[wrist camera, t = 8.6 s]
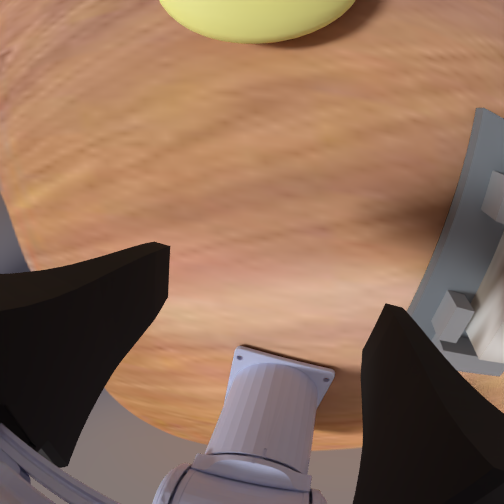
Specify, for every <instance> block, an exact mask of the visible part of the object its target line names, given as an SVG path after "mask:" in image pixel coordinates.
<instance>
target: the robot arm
mask: <svg viewBox="0 0 504 504" xmlns="http://www.w3.org/2000/svg"><path fill="white" fill-rule="evenodd" d="M169 259H170V246H167V245H164V244H160V243H157V242H150V243H145V244H141V245H138V246H134V247H131V248H128V249H124V250H121V251H118V252H114V253H111V254H108V255H105V256H101V257H98V258H94V259H90V260H87V261H83V262H79V263H76V264H72V265H67V266H63V267H58V268H52V269H47V270H41V271H32V272H23V273H15V274H14V273H13V274H0V504H55V503H54V502H53V501H51V500H50V499H49V498H47V497H46V496H45V495H43V494H42V493H41V492H39V491H38V490H37V489H35V488H34V487H33V486H32V485H31V484H30V477H29V475H30V476H31V477H32V478H33V479H35V480H36V481H37V482H39V483H40V484H42V485H43V486H44V487H45V488H47V489H49V490H50V491H51V492H52V493H54V494H55V495H57V496H58V497H60V498H62V499H63V500H64V501H66V502H67V503H69V504H120V503H118V502H116V501H114V500H112V499H110V498H108V497H106V496H105V495H103V494H101V493H99V492H97V491H95V490H94V489H92V488H90V487H88V486H87V485H85V484H84V483H82V482H80V481H79V480H77V479H75V478H74V477H72V476H71V475H69V474H67V473H66V472H64V471H63V470H61V469H60V468H61V467H66V466H68V464H69V461H70V458H71V456H72V453H73V451H74V448H75V446H76V443H77V441H78V438H79V436H80V433H81V431H82V429H83V427H84V425H85V423H86V420H87V419H88V416H89V414H90V412H91V410H92V409H93V407H94V405H95V403H96V401H97V399H98V397H99V396H100V394H101V392H102V390H103V388H104V387H105V385H106V383H107V382H108V380H109V378H110V377H111V375H112V373H113V372H114V370H115V369H116V368H117V366H118V365H119V363H120V362H121V361H122V359H123V358H124V357H125V356H126V354H127V353H128V352H129V351H130V349H131V348H132V347H133V346H134V344H135V343H136V342H137V341H138V340H139V338H140V337H141V336H142V335H143V333H144V332H145V331H146V330H147V328H148V327H149V326H150V325H151V323H152V322H153V321H154V319H155V318H156V316H157V315H158V313H159V311H160V310H161V308H162V306H163V305H164V303H165V301H166V299H167V298H168V282H169ZM240 356H242V357H240ZM334 377H335V371H334V370H333V369H329V368H325V367H321V366H316V365H312V364H308V363H304V362H300V361H296V360H292V359H288V358H284V357H280V356H276V355H272V354H269V353H265V352H261V351H258V350H254V349H251V348H247V347H244V346H238V347H236V349H235V352H234V357H233V362H232V367H231V372H230V377H229V382H228V387H227V392H226V397H225V402H224V406H223V409H222V411H221V414H220V417H219V419H218V422H217V424H216V427H215V429H214V432H213V434H212V437H211V439H210V442H209V444H208V447H207V449H206V451H205V454H200V453H198V454H197V455H196V457H195V459H194V461H193V464H188V463H182V464H180V465H179V466H177V467H175V468H173V469H172V470H170V471H169V472H168V473H167V475H166V476H165V477H164V479H163V480H162V482H161V484H160V486H159V488H158V490H157V492H156V495H155V497H154V500H153V503H152V504H327V501H326V499H325V498H324V496H323V495H322V494H321V491H320V490H318V489H310V486H311V480H312V476H311V475H307V473H308V467H309V461H310V454H311V447H312V440H313V432H314V424H315V416H316V409H317V407H318V406H319V404H320V402H321V401H322V399H323V397H324V395H325V393H326V392H327V390H328V388H329V386H330V384H331V383H332V381H333V379H334ZM325 378H328V379H325ZM361 392H362V414H363V446H362V454H361V462H360V470H359V475H358V481H357V486H356V491H355V496H354V500H353V504H504V413H502V412H501V411H500V410H498V409H497V408H496V407H495V406H494V405H492V404H491V403H490V402H489V401H488V400H486V399H485V398H484V397H483V396H482V395H481V394H480V393H479V392H478V391H477V390H476V389H474V388H473V387H472V386H471V385H470V384H469V383H468V382H467V381H466V380H465V379H464V378H463V377H462V376H461V375H460V373H459V372H458V371H457V370H456V369H455V368H454V367H453V366H452V365H451V363H450V362H449V361H448V360H447V359H446V358H445V357H444V356H443V354H442V353H441V352H440V351H439V350H438V348H437V347H436V346H435V345H434V344H433V342H432V341H431V340H430V339H429V337H428V336H427V335H426V334H425V333H424V331H423V330H422V329H421V328H420V327H419V325H418V324H417V323H416V322H415V321H414V319H413V318H412V317H411V316H410V315H409V314H408V313H407V312H406V311H405V310H404V309H403V308H402V307H398V306H394V305H390V304H385V306H384V308H383V310H382V312H381V314H380V317H379V319H378V321H377V323H376V325H375V327H374V329H373V331H372V333H371V335H370V337H369V339H368V341H367V343H366V345H365V347H364V348H363V351H362V364H361Z"/></svg>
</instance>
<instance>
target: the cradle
mask: <svg viewBox="0 0 504 504" xmlns="http://www.w3.org/2000/svg"><path fill="white" fill-rule="evenodd" d="M503 232H504V119H503V118H501V117H500V116H498V115H496V114H494V113H492V112H491V111H489V110H487V109H485V108H476V112H475V118H474V123H473V127H472V132H471V136H470V141H469V145H468V149H467V153H466V157H465V161H464V165H463V168H462V172H461V175H460V179H459V182H458V186H457V189H456V192H455V195H454V198H453V201H452V204H451V207H450V210H449V213H448V216H447V219H446V222H445V225H444V227H443V230H442V233H441V235H440V238H439V241H438V243H437V246H436V248H435V251H434V253H433V256H432V258H431V260H430V263H429V265H428V267H427V270H426V272H425V274H424V277H423V279H422V281H421V283H420V285H419V288H418V290H417V292H416V294H415V296H414V298H413V300H412V302H411V304H410V306H409V308H408V310H407V313H408V314H409V315H410V316H411V317H412V318H413V319H414V321H415V322H416V323H417V324H418V325H419V327H420V328H421V329H422V330H423V331H424V333H425V334H426V335H427V336H428V337H429V339H430V340H431V341H432V342H433V344H434V345H435V346H436V347H437V348H438V350H439V351H440V352H441V353H442V354H443V356H444V357H445V358H446V359H447V360H448V361H449V362H450V363H451V365H452V366H453V367H454V368H455V369H456V370H457V371H462V372H469V373H476V374H484V375H492V376H500V375H501V374H502V373H503V371H504V363H498V362H491V361H485V360H479V359H478V356H477V354H476V352H475V350H474V347H473V345H472V343H471V341H470V339H469V337H468V335H467V333H466V330H465V328H466V326H467V324H468V323H469V321H470V319H471V318H472V316H473V314H474V312H475V311H474V309H473V308H472V306H471V302H472V300H473V298H474V296H475V294H476V292H477V290H478V288H479V286H480V284H481V282H482V280H483V278H484V276H485V274H486V272H487V270H488V267H489V265H490V263H491V261H492V259H493V256H494V254H495V252H496V249H497V247H498V244H499V242H500V239H501V237H502V234H503Z"/></svg>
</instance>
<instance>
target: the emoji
mask: <svg viewBox="0 0 504 504" xmlns="http://www.w3.org/2000/svg"><path fill="white" fill-rule="evenodd" d="M355 1H356V0H160V2H161V4H162V6H163V7H164V8H165V10H166V11H167V12H168V14H169V15H170V16H171V17H173V18H174V19H175V20H176V21H177V22H178V23H180V24H181V25H183V26H184V27H186V28H188V29H189V30H191V31H193V32H196V33H198V34H201V35H203V36H205V37H208V38H212V39H216V40H220V41H225V42H233V43H240V44H261V43H272V42H280V41H284V40H289V39H294V38H297V37H300V36H303V35H306V34H310V33H312V32H314V31H316V30H319V29H321V28H323V27H325V26H327V25H329V24H330V23H332V22H333V21H334V20H336V19H338V18H339V17H341V16H342V15H343V14H344V13H345V12H346V11H347V10H348V9H349V8H350V7H351V6H352V5H353V3H354V2H355Z"/></svg>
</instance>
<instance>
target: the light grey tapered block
mask: <svg viewBox="0 0 504 504" xmlns="http://www.w3.org/2000/svg"><path fill="white" fill-rule="evenodd" d="M471 306H472V308H473V309H474V311H475V312H474V314H473V316H472V318H471V319H470V321H469V323H468V324H467V326H466V328H465V330H466V333H467V335H468V337H469V339H470V341H471V343H472V345H473V347H474V350H475V352H476V354H477V356H478V359H479V360H485V361H491V362H498V363H504V232H503V234H502V237H501V239H500V242H499V244H498V247H497V249H496V252H495V254H494V256H493V259H492V261H491V263H490V265H489V267H488V270H487V272H486V274H485V276H484V278H483V280H482V282H481V284H480V286H479V288H478V290H477V292H476V294H475V296H474V298H473V300H472V302H471Z"/></svg>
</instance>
